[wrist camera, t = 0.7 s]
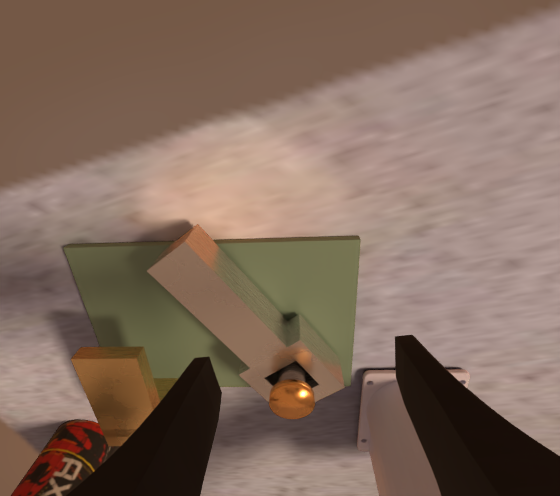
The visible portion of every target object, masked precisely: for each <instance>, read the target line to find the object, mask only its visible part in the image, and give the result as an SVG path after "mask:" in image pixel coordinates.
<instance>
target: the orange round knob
mask: <svg viewBox="0 0 560 496" xmlns="http://www.w3.org/2000/svg"><path fill="white" fill-rule="evenodd" d="M269 406H270V408H271V410H272V411H273V412H274V413H275V414H276V415H278V416H280V417H282V418H286V419H299V418H303V417H305V416H307V415H309V414H310V413H311V412H312V411H313V409H314V406H315V398H314V391H313V389H312V388H311V387H310V386H309V385H308V384H307V383H306V380H305V369H304V368H303V367H302V366H301V365H300V364H299V363H298V362H297V361H294V362H293V363H291V364H289V365H287V366H285V367H283V368H282V369H280V370H279V376H278V383H276V384H275V385H274V386H273V387H272V388H271V390H270V397H269Z"/></svg>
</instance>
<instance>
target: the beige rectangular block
mask: <svg viewBox="0 0 560 496" xmlns="http://www.w3.org/2000/svg"><path fill="white" fill-rule="evenodd" d="M147 272H148V273H149V274H150V275H151V276H153V277H154V278H155V279H156V280H157V281H158V282H159V283H160V284H161V285H162V286H163V287H164V288H165V289H166V290H167V291H168V292H170V293H171V294H172V295H173V296H174V297H175V298H176V299H177V300H178V301H179V302H180V303H181V304H182V305H183V306H184V307H186V308H187V309H188V310H189V311H190V312H191V313H192V314H193V315H194V316H195V317H196V318H197V319H198V320H199V321H200V322H201V323H203V324H204V325H205V326H206V327H207V328H208V329H209V330H210V331H211V332H212V333H213V334H214V335H215V336H216V337H217V338H218V339H220V340H221V341H222V342H223V343H224V344H225V345H226V346H227V347H228V348H229V349H230V350H231V351H232V352H233V353H234V354H236V355H237V356H238V357H239V358H240V359H241V365H240V370H239V376H240V377H241V378H243V379H244V380H245V381H246V382H247V383H248V384H249V385H250V386H251V387H252V388H253V389H255V390H256V391H257V392H258V393H259V394H260V395H261V396H262V397H263V398H264V399H266V400H267V401H268V402H269V397H270V390H271V388H272V387H273V386H274V385H275V384H276V383H278V376H279V370H280V369H282V368H283V367H285V366H287V365H289V364H291V363H293V362H294V361H297V362H298V363H299V364H300V365H301V366H302V367H303V368H304V369H305V380H306V383H307V384H308V385H309V386H310V387H311V388H312V389H313V391H314V398H315V402H316V401H318V400H320V399H322V398H325V397H327V396H329V395H331V394H333V393H335V392H337V391H339V390H341V389H343V388H345V387H344V381H343V376H342V370H341V365H340V359H339V358H338V356H337V355H336V354H335V353H334V352H333V351H332V350H331V349H330V348H329V346H328V345H327V344H326V343H325V342H324V341H323V340H322V339H321V338H320V336H319V335H318V334H317V333H316V332H315V331H314V330H313V329H312V328H311V326H310V325H309V324H308V323H307V322H306V321H305V320H304V319H303V317H302V316H301V315H300V314H298V315H297V316H295V317H293V318H292V319H290V320H288V321H287V320H286V319H285V317H284V316H283V315H282V314H281V313H280V312H279V311H278V310H277V309H276V308H275V307H274V306H273V304H272V303H271V302H270V301H269V300H268V299H267V298H266V297H265V296H264V295H263V294H262V293H261V292H260V290H259V289H258V288H257V287H256V286H255V285H254V284H253V283H252V282H251V281H250V280H249V279H248V278H247V276H246V275H245V274H244V273H243V272H242V271H241V270H240V269H239V268H238V267H237V266H236V265H235V263H234V262H233V261H232V260H231V259H230V258H229V257H228V256H227V255H226V254H225V253H224V252H223V251H222V249H221V248H220V247H219V246H218V245H217V244H216V243H215V242H214V241H213V240H212V239H211V238H210V237H209V235H208V234H207V233H206V232H205V231H204V230H203V229H202V228H201V227H200V226H199V225H198V224H197V225H196V226H194V227H193V228H192V229H191V230H189V231H188V232H187V233H186V234H184V235H183V236H182V237H180V238H179V239H178V240H177V241H175V242H174V243H173V244H171V245H170V246H169V247H168V248H166V249H165V250H164V251H163V252H162V253H161V254H160V256H159V257H158V258H157V259H156V260H155V262H154V263H153V264H152V265H151V266H150V268H149V269H148V270H147Z"/></svg>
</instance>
